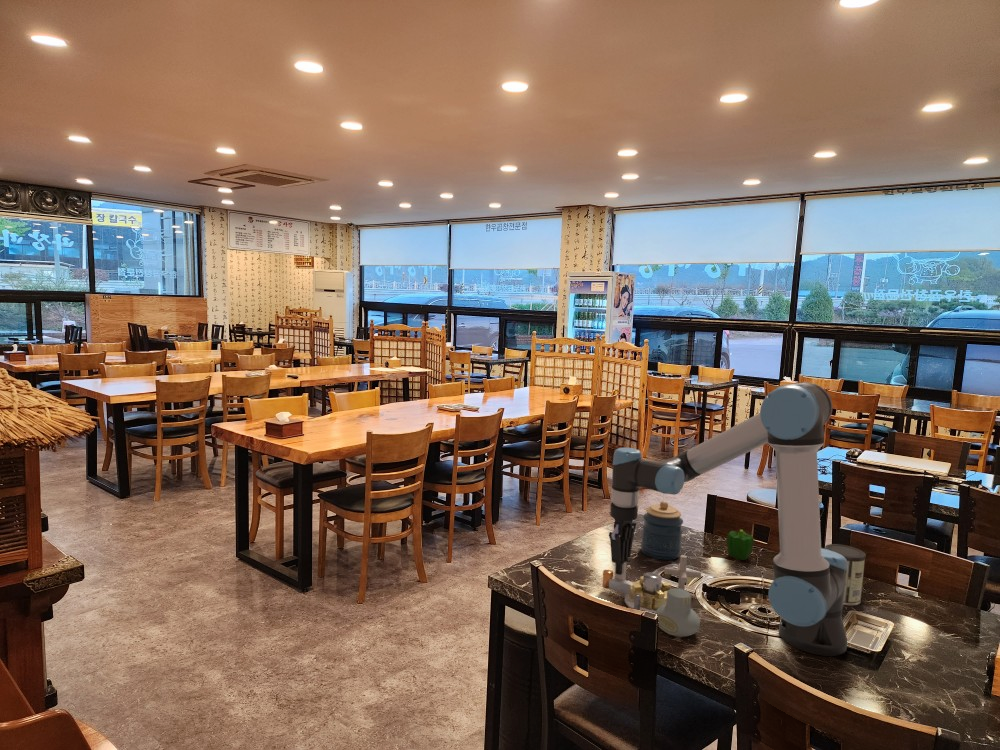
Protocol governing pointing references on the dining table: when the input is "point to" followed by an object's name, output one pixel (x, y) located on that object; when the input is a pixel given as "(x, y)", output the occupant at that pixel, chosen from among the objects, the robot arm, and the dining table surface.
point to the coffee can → (851, 572)
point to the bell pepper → (739, 544)
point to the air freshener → (678, 614)
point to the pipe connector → (682, 572)
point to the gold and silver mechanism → (645, 591)
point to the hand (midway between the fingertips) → (619, 583)
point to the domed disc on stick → (636, 590)
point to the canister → (662, 532)
